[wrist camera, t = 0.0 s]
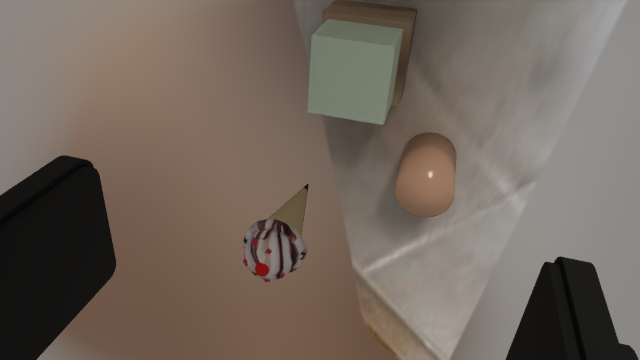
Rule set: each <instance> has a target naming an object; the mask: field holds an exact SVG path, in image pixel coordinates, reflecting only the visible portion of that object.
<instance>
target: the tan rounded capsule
mask: <svg viewBox="0 0 640 360" xmlns="http://www.w3.org/2000/svg"><path fill="white" fill-rule="evenodd" d="M455 169H456V151H455V148H454V146H453V144H452V143H451V142H450V140H448V139H447V138H446V137H444V136H442V135H440V134H437V133H422V134H419V135H417V136H415V137H413V138H412V139H411V140H410V141H409V142H408V143H407V145H406V147H405V150H404V154H403V158H402V162H401V166H400V170H399V174H398V178H397V182H396V186H395V196H396V199H397V201H398V203H399V205H400V206H401V207H402V208H403V209H404V210H405V211H407V212H408V213H410V214H412V215H415V216H419V217H433V216H437V215H439V214H441V213H443V212H445V211H446V210H447V209H448V208H449V207H450V205H451V204H452V202H453V198H454V186H455Z"/></svg>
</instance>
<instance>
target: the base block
mask: <svg viewBox="0 0 640 360" xmlns="http://www.w3.org/2000/svg"><path fill="white" fill-rule="evenodd" d="M416 14H417V9H411V8H403V7H395V6H386V5H378V4H370V3H362V2H354V1H346V0H336V1H334V2H333V3H332V4H331V5H330V6H329V7H328V8H326V9H325V10H324V11H323V21H322V24H323V23H324V22H326V21H327V20H328V19H333V20H341V21H348V22H356V23H363V24H370V25H378V26H385V27H393V28H400V29H403V35H402V41H401V48H400V54H399V61H398V67H397V74H396V80H395V87H394V93H393V100H392V103H391V106H393V107H398V106H399V103H400V100H401V97H402V94H403V91H404V88H405V81H406V75H407V69H408V63H409V57H410V51H411V44H412V38H413V32H414V26H415V20H416Z"/></svg>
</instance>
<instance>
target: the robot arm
mask: <svg viewBox="0 0 640 360" xmlns="http://www.w3.org/2000/svg"><path fill="white" fill-rule="evenodd" d="M115 268H116V259H115V253H114V248H113V243H112V238H111V233H110V228H109V222H108V217H107V212H106V207H105V202H104V197H103V191H102V186H101V181H100V176H99V173H98V171H97V170H96V169H95V168H94V167H93V165H92V163H91V162H90V161H88V160H85V159H80V158H75V157H70V156H59V157H57V158H56V159H54V160H53V161H51V162H50V163H48V164H47V165H45V166H44V167H42V168H41V169H39V170H38V171H37V172H35V173H33V174H32V175H30V176H29V177H27V178H26V179H24V180H23V181H21V182H20V183H18V184H17V185H15V186H14V187H12V188H11V189H9V190H8V191H6V192H5V193H3V194H2V195H0V360H36V359H37V358H38V357H39V356H40V355H41V354H42V353H43V352H44V351H45V350H46V348H47V347H48V346H49V345H50V344H51V343H52V342H53V341H54V340H55V339H56V337H57V336H58V335H59V334H60V333H61V332H62V331H63V330H64V329H65V328H66V326H67V325H68V324H69V323H70V322H71V321H72V320H73V319H74V318H75V317H76V316H77V314H78V313H79V312H80V311H81V310H82V309H83V308H84V307H85V306H86V305H87V303H88V302H89V301H90V300H91V299H92V298H93V297H94V296H95V294H96V293H97V292H98V291H99V290H100V289H101V288H102V287H103V286H104V285H105V284H106V283H107V281H108V280H109V279H110V278H111V277H112V275H113V273H114V271H115ZM506 360H638V357H637V355H636V353H635V351H634V350H633V349H632V348H631V347H630V346H629V345H624V344H620V343H619V342H618V339H617V336H616V332H615V329H614V326H613V323H612V320H611V317H610V313H609V310H608V307H607V304H606V301H605V298H604V295H603V291H602V289H601V285H600V282H599V279H598V276H597V272H596V269H595V267H594V265H593V264H592V263H589V262H584V261H579V260H575V259H569V258H565V257H558V258H557V259H556V260H555V262H554V263H550V262H545V263H544V264H543V266H542V268H541V271H540V273H539V276H538V278H537V281H536V284H535V286H534V289H533V291H532V294H531V296H530V299H529V301H528V304H527V306H526V309H525V312H524V314H523V317H522V319H521V322H520V324H519V327H518V329H517V332H516V334H515V337H514V339H513V342H512V344H511V347H510V350H509V352H508V355H507V358H506Z"/></svg>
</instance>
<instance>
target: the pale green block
mask: <svg viewBox="0 0 640 360" xmlns="http://www.w3.org/2000/svg"><path fill="white" fill-rule="evenodd" d="M402 35H403V29H400V28H393V27H385V26H378V25H370V24H363V23H356V22H348V21H341V20H333V19H328V20H327V21H326V22H324V23H323V24H322V25H321V26H320V27H319V28H318V29H317V30H316V31H315V32H314V33H313V34H312V38H311V55H310V72H309V74H310V75H309V90H308V106H307V112H309V113H314V114H320V115H326V116H332V117H338V118H344V119H350V120H356V121H361V122H367V123H373V124H379V125H384V123H385V120H386V117H387V115H388V112H389V109H390V106H391V103H392V100H393V93H394V87H395V80H396V74H397V67H398V61H399V54H400V48H401V41H402Z"/></svg>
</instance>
